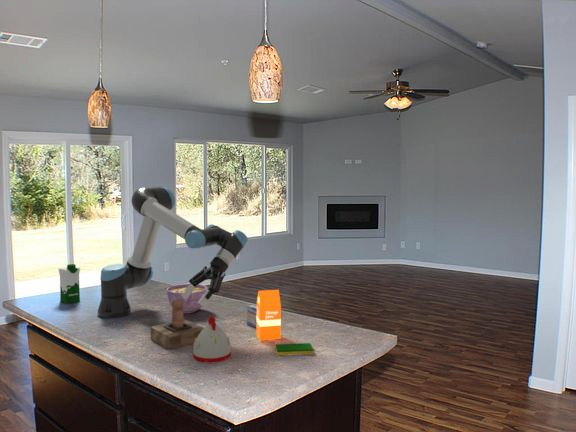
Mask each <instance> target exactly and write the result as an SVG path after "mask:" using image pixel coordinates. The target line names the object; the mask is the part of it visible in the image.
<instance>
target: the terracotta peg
mask: <svg viewBox="0 0 576 432" xmlns="http://www.w3.org/2000/svg"><path fill="white" fill-rule="evenodd" d="M171 314H172V316H171V322H172V328H173V329H179V328H183V320H184V313H183V300H173V301H172V307H171Z"/></svg>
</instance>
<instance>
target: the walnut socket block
mask: <svg viewBox="0 0 576 432" xmlns="http://www.w3.org/2000/svg"><path fill="white" fill-rule="evenodd" d="M204 328H205V327H203V326H201V325H200V324H199V325H198V324H196V323H194V322H191V321H190V320H187V319H183V328H179V329H173V328H172V321H171V322H167V323H162V324H157V325H154V326H150V340H153V341H154V342H156V343H157V344H159V345H160V346H163V347H164V348H166V349H168V350H173V349H177V348H181V347H185V346H187V345H191V344H192V345H194V342H195V338H197V337H198V335H199V334H200V332H201V331H202V330H203V329H204Z"/></svg>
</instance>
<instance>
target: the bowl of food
mask: <svg viewBox="0 0 576 432" xmlns="http://www.w3.org/2000/svg"><path fill="white" fill-rule="evenodd" d="M189 285H190V283H183V284H182V283H181V284H175V285H172V286H171V285H170V286H169V287H166V295H167V297H168V302H169V305H170V307H171V308H172V301H173V300H183V314H192V313H195V312H196V311H198V310H200V309H201V308H202V307H203V306H201V305H200V304H199V303H198V302H199V300H200V299H201V298H202V296H203V295H204V294H205V292H206V291H207V290H208V287H207V286H206V285H204V284H198V285H196V288H195V289H194V290H193V292H192V293H191V294H190V295H189V297H188V298H187V299H186V300H185V299H184V298H183V297H182V296H181V295H182V294H183V293H184V292H185V290H186V289H187V288H188V286H189Z"/></svg>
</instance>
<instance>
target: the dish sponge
mask: <svg viewBox="0 0 576 432" xmlns="http://www.w3.org/2000/svg"><path fill="white" fill-rule="evenodd" d="M274 349H276V350H275V353H277V354H276V356H277V355H285V356H290V355H289V354H312V355H314V348H313V345H312V343H309V342H306V343H305V342H304V343H301V342H300V343H276V344H275V348H274Z"/></svg>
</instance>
